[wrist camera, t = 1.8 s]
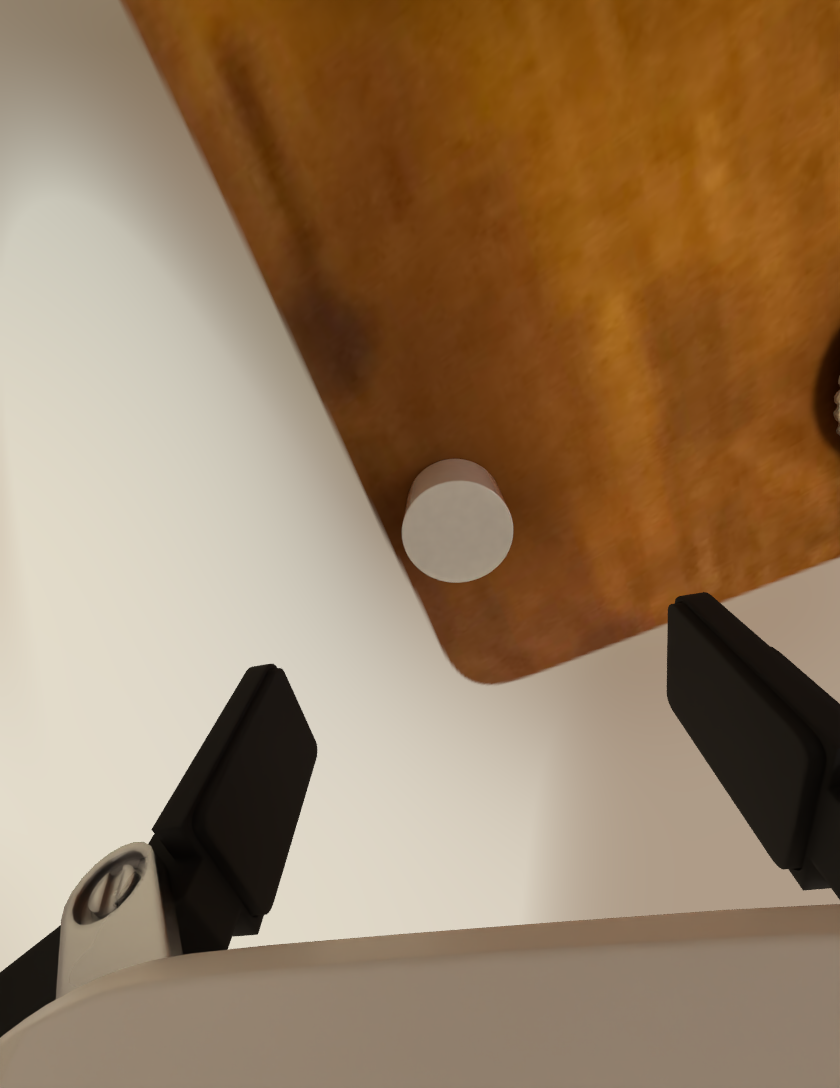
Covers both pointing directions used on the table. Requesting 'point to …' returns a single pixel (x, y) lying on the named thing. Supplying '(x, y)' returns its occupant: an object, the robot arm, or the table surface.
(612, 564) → the table surface
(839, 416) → the seashell
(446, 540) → the off-white cylinder
